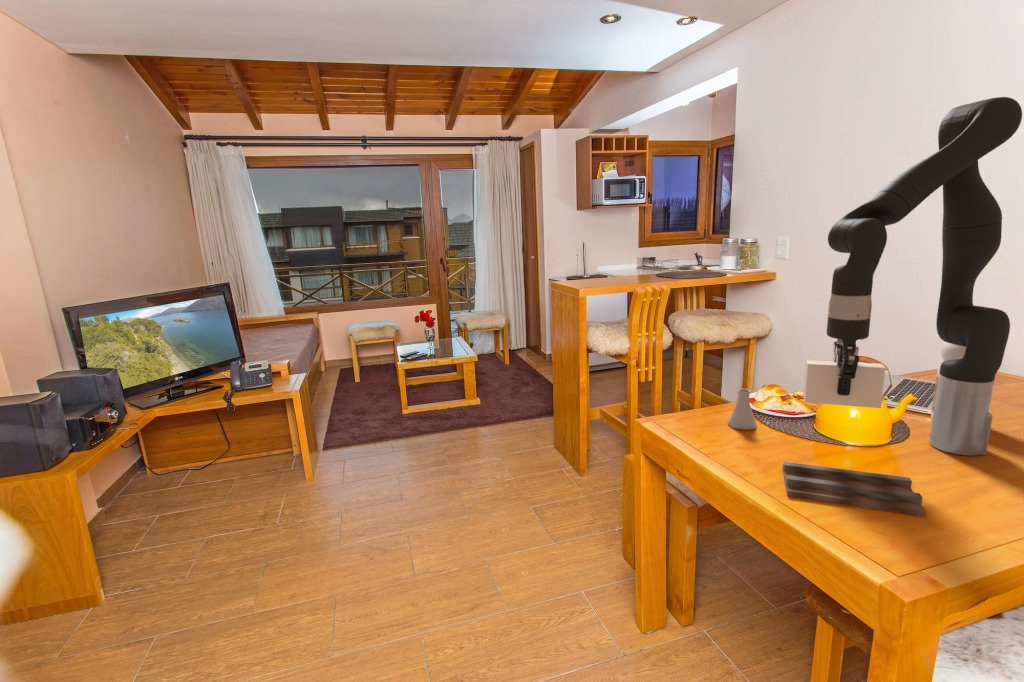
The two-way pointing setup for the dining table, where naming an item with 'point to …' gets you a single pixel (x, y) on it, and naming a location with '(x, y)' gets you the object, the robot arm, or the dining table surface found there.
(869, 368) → the panel
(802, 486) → the track
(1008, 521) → the dining table surface
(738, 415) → the flask
